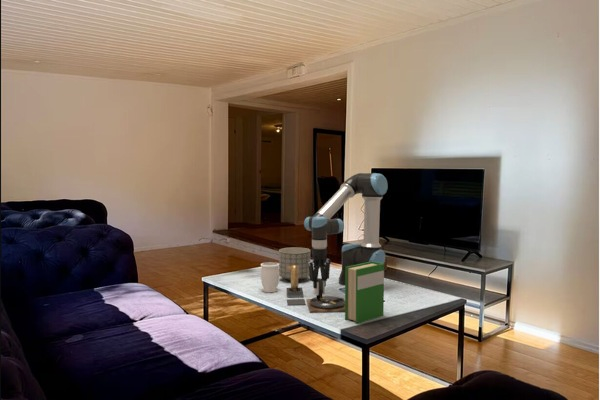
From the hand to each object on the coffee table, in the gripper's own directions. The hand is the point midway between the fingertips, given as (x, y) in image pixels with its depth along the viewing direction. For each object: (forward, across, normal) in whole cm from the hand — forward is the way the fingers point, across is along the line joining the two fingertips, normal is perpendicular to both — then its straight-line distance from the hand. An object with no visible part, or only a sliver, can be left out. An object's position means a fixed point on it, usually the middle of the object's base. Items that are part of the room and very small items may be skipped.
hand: (319, 293), depth 225 cm
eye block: (+5, +3, -18) cm, 19 cm away
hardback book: (+5, -4, +30) cm, 30 cm away
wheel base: (+5, 0, +7) cm, 8 cm away
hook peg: (+5, +4, -18) cm, 19 cm away
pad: (+4, +10, -7) cm, 13 cm away
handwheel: (+3, 0, +7) cm, 8 cm away
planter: (+5, -15, -46) cm, 48 cm away
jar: (+5, +10, -33) cm, 35 cm away
